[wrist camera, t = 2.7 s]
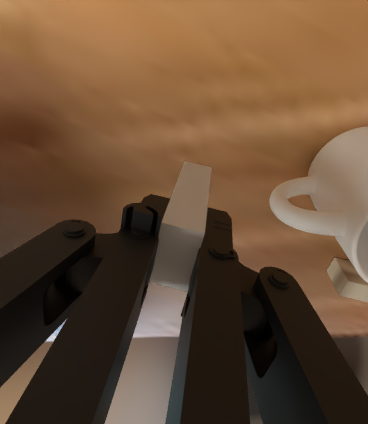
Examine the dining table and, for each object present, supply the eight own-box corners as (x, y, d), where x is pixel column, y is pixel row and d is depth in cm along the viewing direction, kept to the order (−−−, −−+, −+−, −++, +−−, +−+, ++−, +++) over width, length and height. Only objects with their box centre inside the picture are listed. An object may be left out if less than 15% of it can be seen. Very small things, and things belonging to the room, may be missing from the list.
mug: (258, 217, 28) (278, 296, 18) (262, 129, 24) (290, 174, 15) (395, 214, 26) (490, 298, 17) (423, 120, 22) (565, 163, 13)
